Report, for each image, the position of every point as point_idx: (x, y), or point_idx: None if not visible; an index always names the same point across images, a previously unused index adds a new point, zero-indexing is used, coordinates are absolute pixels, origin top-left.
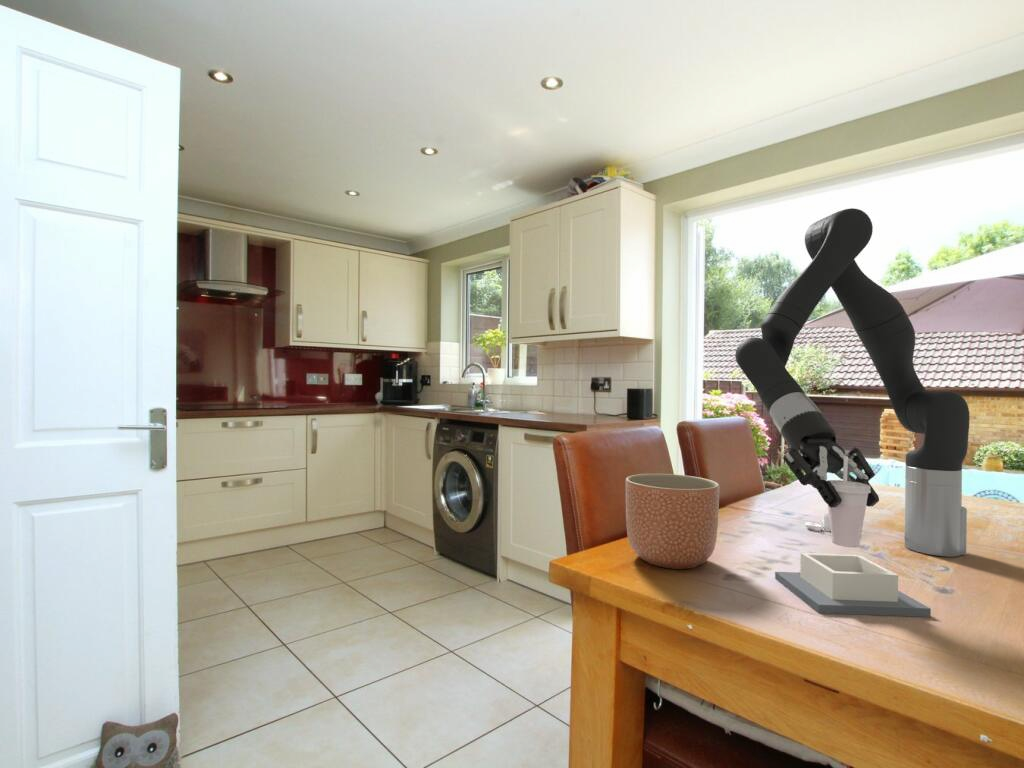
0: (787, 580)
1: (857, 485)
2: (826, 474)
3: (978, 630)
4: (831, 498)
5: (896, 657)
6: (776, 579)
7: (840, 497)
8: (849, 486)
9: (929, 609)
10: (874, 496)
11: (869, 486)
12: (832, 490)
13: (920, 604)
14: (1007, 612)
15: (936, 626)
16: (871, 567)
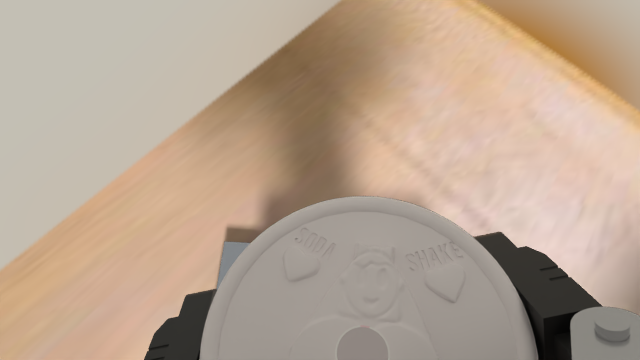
0: None
1: (308, 299)
2: (575, 357)
3: (185, 185)
4: (532, 251)
5: (449, 80)
6: None
7: (478, 240)
8: (404, 251)
9: (227, 242)
10: (208, 298)
11: (254, 243)
12: (529, 262)
13: (228, 266)
14: (7, 279)
15: (261, 200)
16: None
